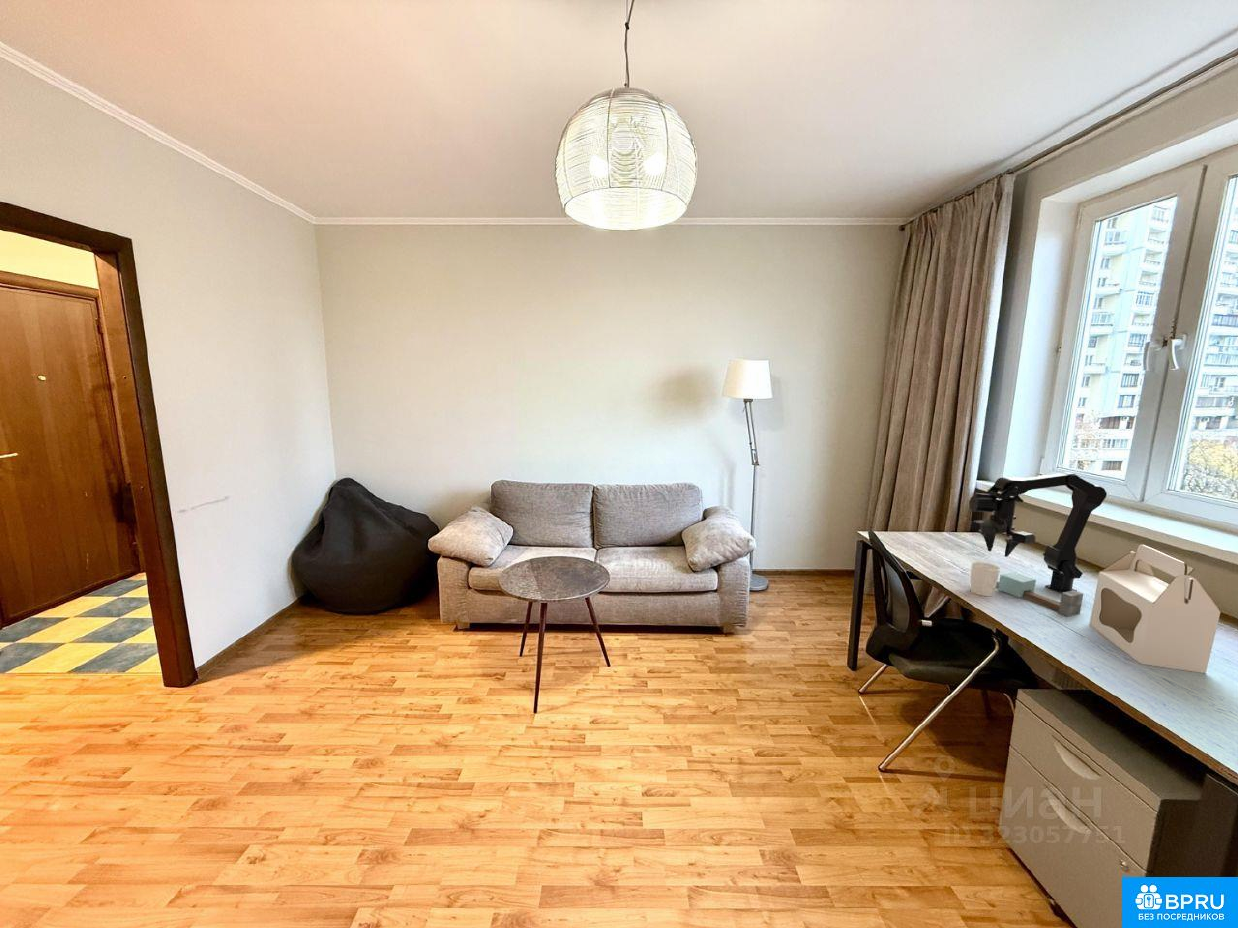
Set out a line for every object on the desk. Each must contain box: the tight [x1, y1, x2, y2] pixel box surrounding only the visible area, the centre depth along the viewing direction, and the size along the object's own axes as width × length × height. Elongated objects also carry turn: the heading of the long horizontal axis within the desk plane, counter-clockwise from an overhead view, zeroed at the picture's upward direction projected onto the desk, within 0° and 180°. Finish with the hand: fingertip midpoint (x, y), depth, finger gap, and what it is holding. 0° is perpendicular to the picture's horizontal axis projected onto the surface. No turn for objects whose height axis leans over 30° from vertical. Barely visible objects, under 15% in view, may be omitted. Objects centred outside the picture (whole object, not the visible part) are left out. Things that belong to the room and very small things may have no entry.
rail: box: [996, 581, 1084, 618], centre depth 160 cm, size 6×22×7 cm, turn 18°
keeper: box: [997, 571, 1037, 598], centre depth 166 cm, size 7×7×6 cm
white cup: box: [969, 561, 1001, 597], centre depth 166 cm, size 8×8×10 cm
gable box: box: [1089, 544, 1221, 674], centre depth 130 cm, size 22×13×28 cm, turn 162°
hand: (997, 553), depth 171 cm, fingers open, 5 cm apart
